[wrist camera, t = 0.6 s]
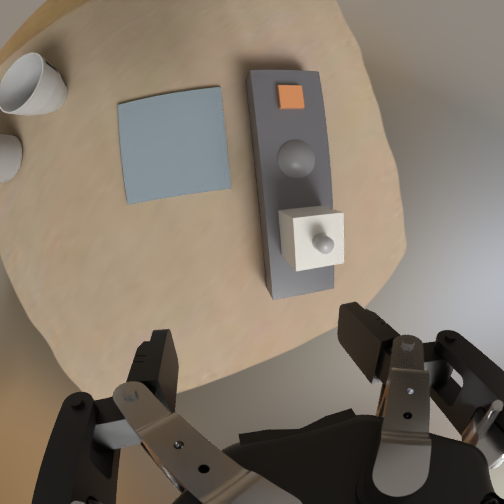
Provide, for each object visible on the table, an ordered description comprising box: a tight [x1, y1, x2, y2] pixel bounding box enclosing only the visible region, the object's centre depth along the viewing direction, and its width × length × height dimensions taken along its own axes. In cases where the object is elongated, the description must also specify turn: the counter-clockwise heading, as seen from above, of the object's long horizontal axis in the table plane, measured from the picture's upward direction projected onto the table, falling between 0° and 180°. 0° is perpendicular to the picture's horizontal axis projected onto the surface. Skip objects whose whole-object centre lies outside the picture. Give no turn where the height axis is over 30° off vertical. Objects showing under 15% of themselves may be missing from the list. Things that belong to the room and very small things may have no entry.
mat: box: [118, 87, 231, 205], centre depth 32 cm, size 14×14×1 cm
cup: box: [0, 53, 68, 115], centre depth 22 cm, size 8×8×10 cm
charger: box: [278, 206, 344, 271], centre depth 32 cm, size 6×6×10 cm
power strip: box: [246, 70, 334, 300], centre depth 34 cm, size 30×9×5 cm, turn 6°
